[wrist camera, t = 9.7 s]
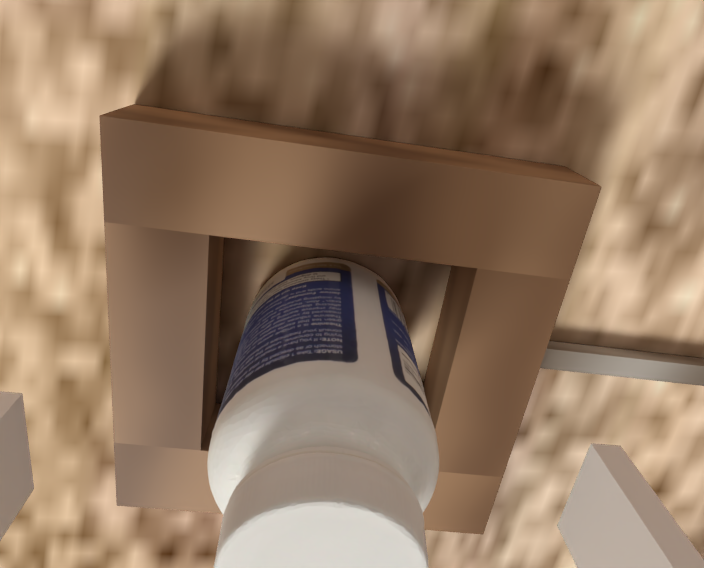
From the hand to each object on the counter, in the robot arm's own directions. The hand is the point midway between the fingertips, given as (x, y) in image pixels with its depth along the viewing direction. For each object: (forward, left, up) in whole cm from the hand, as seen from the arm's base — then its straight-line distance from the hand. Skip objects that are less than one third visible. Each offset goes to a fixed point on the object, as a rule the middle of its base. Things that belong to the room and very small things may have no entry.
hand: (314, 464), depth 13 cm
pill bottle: (0, 0, -7) cm, 7 cm away
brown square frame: (+7, 0, -7) cm, 10 cm away
